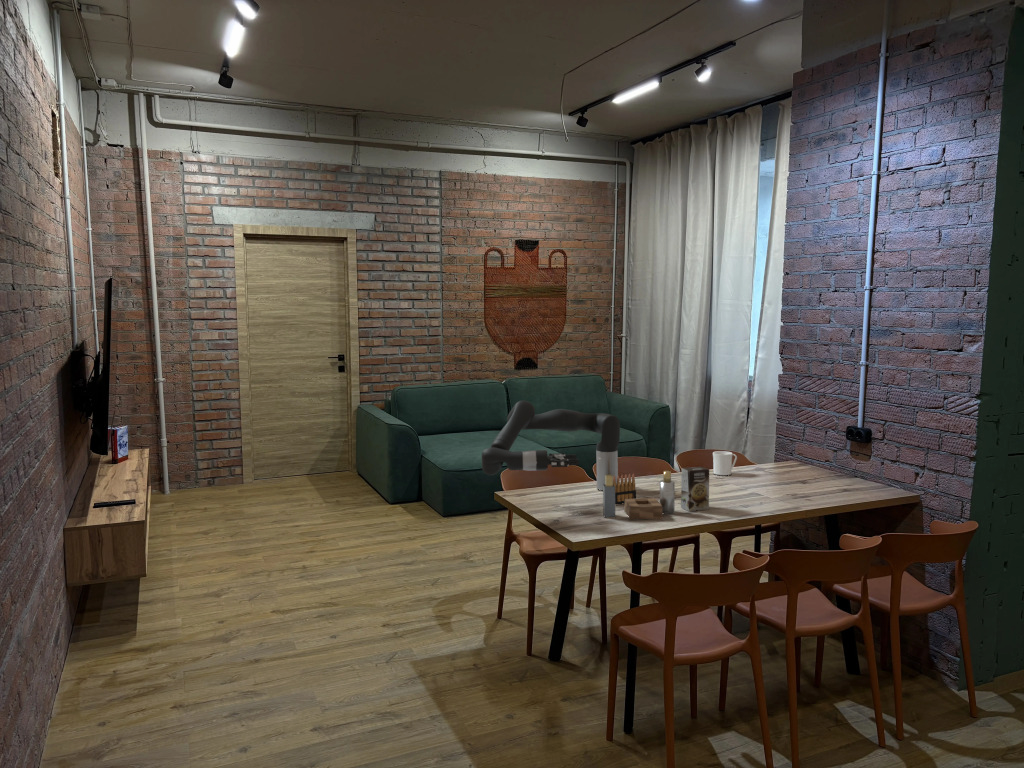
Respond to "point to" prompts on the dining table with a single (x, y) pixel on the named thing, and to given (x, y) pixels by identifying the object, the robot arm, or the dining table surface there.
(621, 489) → the ammunition clip
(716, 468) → the mug
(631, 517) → the socket block
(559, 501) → the dining table surface
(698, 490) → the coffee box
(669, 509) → the silver bottle
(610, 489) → the square bit
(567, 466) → the robot arm
